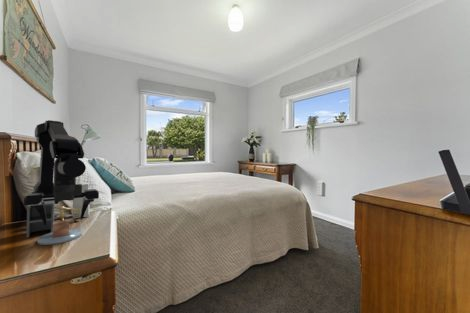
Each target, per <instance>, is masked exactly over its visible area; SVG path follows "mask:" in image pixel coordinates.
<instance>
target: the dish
mask: <svg viewBox="0 0 470 313" xmlns="http://www.w3.org/2000/svg"><path fill="white" fill-rule="evenodd" d="M82 232H83V231H82V230H81V229H78V228H77V229H76V228H74V229H70V228H69V235H67V236H62V237H56V238H53V232H52V233H51V232H48V233H46V234H42V235H40V236H39V237H38V238H37V244H38V245H40V246H41V245H42V246H49V245H50V246H52V245H58V244H59V245H60V244H64V243H67V242H71V241H74V240H78V238H80V237H81V236H83V234H82Z"/></svg>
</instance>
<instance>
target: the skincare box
mask: <svg viewBox="0 0 470 313" xmlns="http://www.w3.org/2000/svg"><path fill="white" fill-rule="evenodd" d="M81 184H82V192H84V190H90V182H84V183H81ZM83 198H84V197H82V198H74V199H73V200H72V208H74V209H80V211H81V209H82V203H83ZM90 207H91V206H90V204H89V205H88V207H87V209H86V211H85V212H86V213H85V214H84V216H83V217H84V218H89V217H90V216H89V215H90V214H91V212H90ZM80 211H77V210H72V218H74V220H75V219H81V215H74V213H75V212H80Z"/></svg>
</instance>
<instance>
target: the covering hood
mask: <svg viewBox="0 0 470 313" xmlns="http://www.w3.org/2000/svg"><path fill="white" fill-rule="evenodd" d="M43 202H45V209H46V216H47V215H51V218H54V216H55V208H54V207H55V204H54V203H55V201H43ZM39 216H40V214H39V212H38V211H37V210H36V209H35V208H34V207H33V208H31V207H30V205H26V223H27V222H29V221H30V219H31V218H32V217H39ZM54 219H55V218H54Z"/></svg>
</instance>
